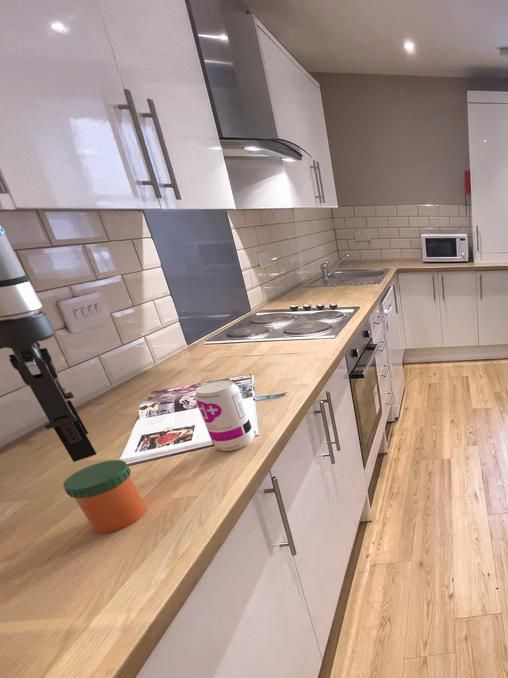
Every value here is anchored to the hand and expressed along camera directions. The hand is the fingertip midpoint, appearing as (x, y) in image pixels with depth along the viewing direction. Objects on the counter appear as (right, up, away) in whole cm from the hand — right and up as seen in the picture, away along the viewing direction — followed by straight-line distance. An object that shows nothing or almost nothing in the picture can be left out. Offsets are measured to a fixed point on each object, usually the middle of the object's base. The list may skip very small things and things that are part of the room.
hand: (81, 446), depth 68 cm
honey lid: (0, -6, +3) cm, 6 cm away
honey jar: (0, -14, +7) cm, 16 cm away
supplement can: (+6, -4, +29) cm, 30 cm away
